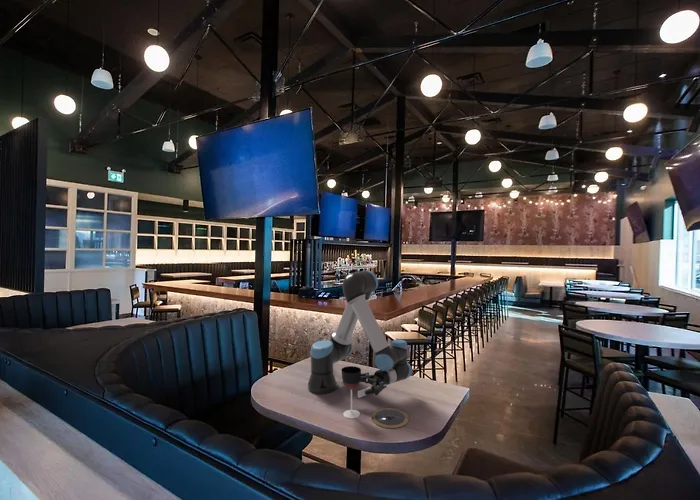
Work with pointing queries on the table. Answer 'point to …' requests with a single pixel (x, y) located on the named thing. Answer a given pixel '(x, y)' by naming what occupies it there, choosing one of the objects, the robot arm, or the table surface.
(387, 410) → the coaster
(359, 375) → the wineglass
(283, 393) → the table surface
